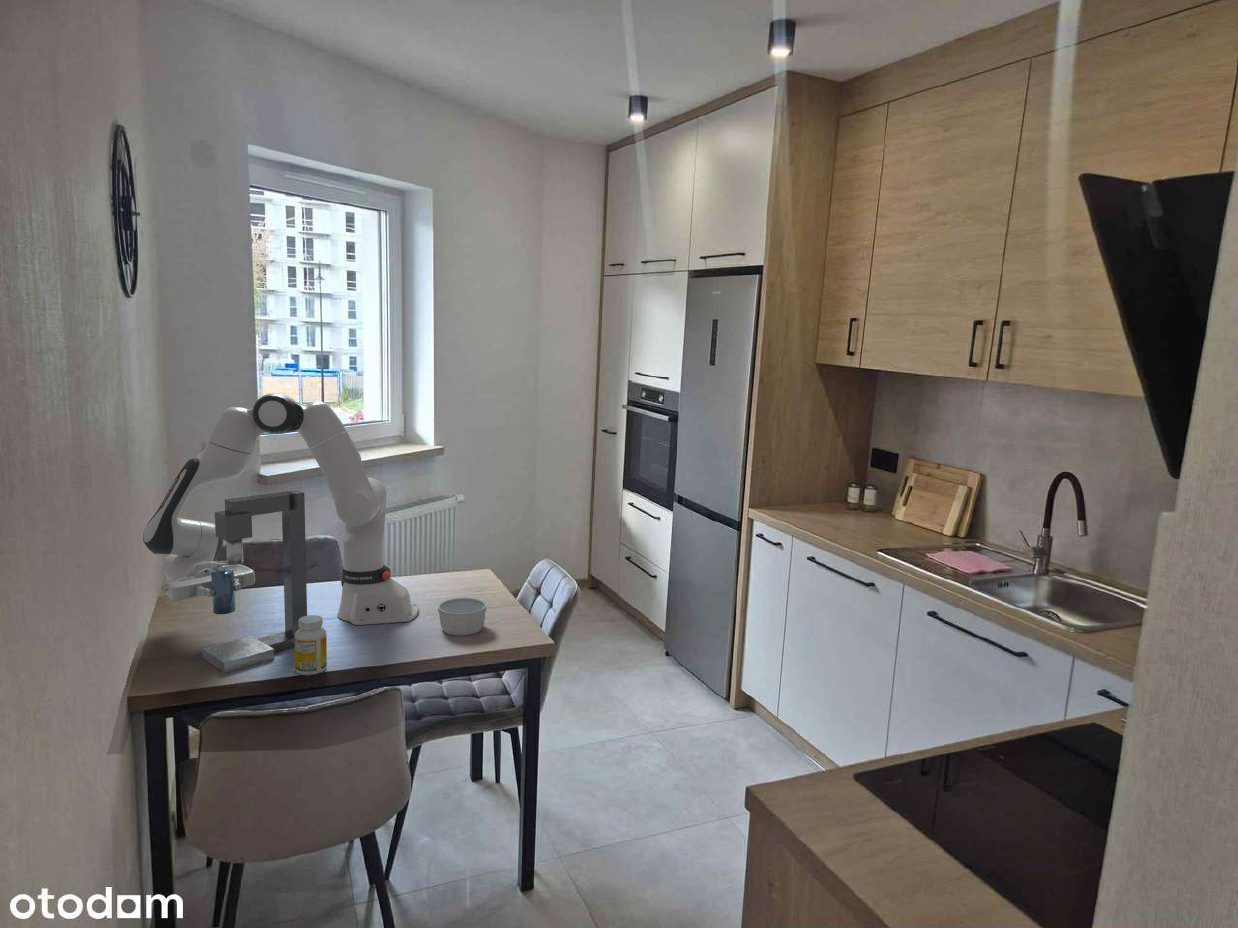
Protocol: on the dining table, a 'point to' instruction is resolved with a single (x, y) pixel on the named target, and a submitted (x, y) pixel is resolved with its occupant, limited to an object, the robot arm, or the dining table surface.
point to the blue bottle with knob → (223, 591)
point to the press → (239, 526)
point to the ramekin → (462, 616)
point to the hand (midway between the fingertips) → (225, 590)
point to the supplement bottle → (310, 646)
